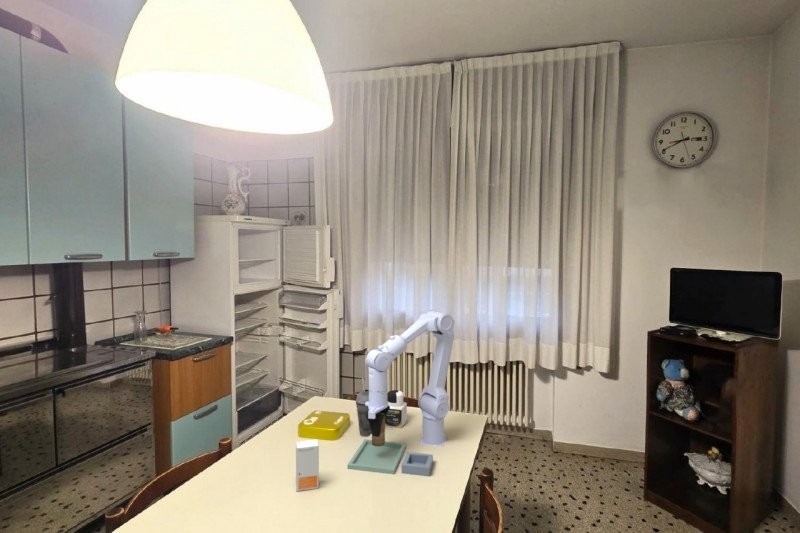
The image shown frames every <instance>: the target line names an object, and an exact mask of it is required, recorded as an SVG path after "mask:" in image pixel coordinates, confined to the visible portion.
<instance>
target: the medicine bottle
mask: <svg viewBox="0 0 800 533" xmlns="http://www.w3.org/2000/svg"><path fill="white" fill-rule="evenodd" d="M387 402H388V406H390V409H389V411H388V413H387V416H386V420H385V427H390V428H398V429H399V428H400V429H402V428H403V427H404V425H405V424H406V422H407V418H408V417H407V416H408V406H407V405H408V403H407V402H405V401H404V392H402V391H401V390H398V389H394V390H390V391H387Z"/></svg>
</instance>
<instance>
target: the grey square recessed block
mask: <svg viewBox="0 0 800 533" xmlns="http://www.w3.org/2000/svg"><path fill="white" fill-rule="evenodd" d="M433 465H434V454H433V453H432V454H430V453H423V452H422V453H421V452H412V451H411V452H410V451H407V452H406V454H405V456H404V458H403V461H402V463H401V474H404V475H413V476H420V477H421V476H422V477H430V476H431V472H432V468H433Z"/></svg>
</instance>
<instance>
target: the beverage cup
mask: <svg viewBox="0 0 800 533" xmlns="http://www.w3.org/2000/svg"><path fill="white" fill-rule="evenodd" d="M361 379H362V381H361V382H362V389H363V390H361V391H360V392H358V393H357V395H356V398H355V407H356V406H357V411H356V412H357V422H358V430H359V436H361V437H370V436H371V435H372V432H371V427H370V424H369V422H368V420H367V418H366V413H367V412H369V408H368V406H365V403H366V402H367V401H368V402H369V389H366V388H365V380H364V377H361Z"/></svg>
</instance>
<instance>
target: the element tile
mask: <svg viewBox="0 0 800 533" xmlns="http://www.w3.org/2000/svg"><path fill="white" fill-rule="evenodd" d="M350 417H351V415H350V414H349V413H348V412H335V411H325V410H313V411H312V412H311V413H310V414H308V415H307V416H306V417H304V419H303V420H301V422H299V423H298V426H297V430H298V431H297V436H298V438H301V439H309V440H315V439H318V441H319V440H320V441H321V440H322V441H332V442H333V441H338V440H339V439H340V438H341V437H342V436H343V434H344V433H345V432H346V430H347V429H349V427H350V425H351V424H350V423H351V422H350Z"/></svg>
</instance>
